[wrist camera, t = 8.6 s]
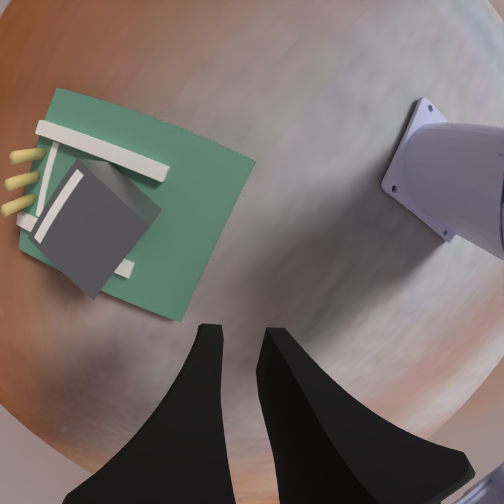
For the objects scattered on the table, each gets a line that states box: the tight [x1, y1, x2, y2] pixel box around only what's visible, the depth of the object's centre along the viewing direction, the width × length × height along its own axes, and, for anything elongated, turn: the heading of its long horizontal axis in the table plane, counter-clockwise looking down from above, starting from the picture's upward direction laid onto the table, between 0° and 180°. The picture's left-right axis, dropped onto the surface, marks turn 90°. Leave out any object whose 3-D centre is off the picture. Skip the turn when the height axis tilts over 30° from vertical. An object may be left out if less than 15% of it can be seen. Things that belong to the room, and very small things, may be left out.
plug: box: [28, 158, 162, 300], centre depth 11 cm, size 4×4×5 cm
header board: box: [1, 88, 256, 322], centre depth 13 cm, size 13×11×4 cm
